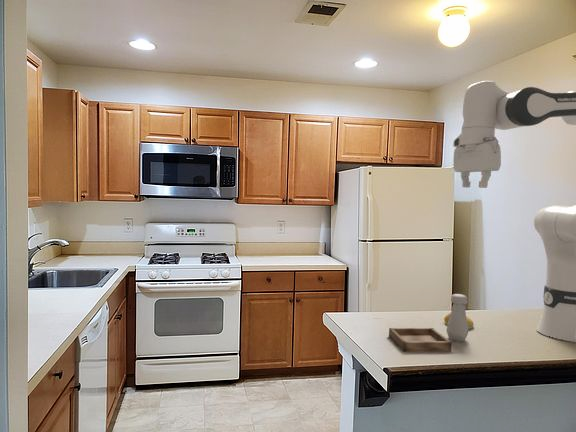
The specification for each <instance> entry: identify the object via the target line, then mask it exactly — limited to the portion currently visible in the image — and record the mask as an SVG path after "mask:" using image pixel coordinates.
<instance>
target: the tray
mask: <svg viewBox="0 0 576 432" xmlns="http://www.w3.org/2000/svg"><path fill="white" fill-rule="evenodd" d="M388 338H390V339H391V340H392V341H393V342H394V343H395V344H396V345H397V346H398V347H399V348H400V350H402V351H403V352H452V343H453V342H452V340H450V339H449V338H447V337H446V336H444V335H443V334H442V333H440V332H439V331H437V330H436V329H435V328H433V327H389V330H388Z"/></svg>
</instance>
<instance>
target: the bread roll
mask: <svg viewBox="0 0 576 432" xmlns="http://www.w3.org/2000/svg"><path fill="white" fill-rule="evenodd" d="M450 314H451V312H450V313H448V314H447V315H446V316H445V317H444V318H443V320H444V323H445V324H446V325H448V322H449V318H450ZM466 320H467V327H468V330H471V329H473V327H474V321H473V320H472V319H471V318H470V317H468V316H467V315H466Z"/></svg>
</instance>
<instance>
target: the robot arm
mask: <svg viewBox="0 0 576 432" xmlns="http://www.w3.org/2000/svg"><path fill="white" fill-rule="evenodd" d="M463 97H464V98H463V105H462V117H463V123H462V126H461V132H460V133H459V135H458V136H457V137H456V138H455V139H454V140H453V144H452V146H453V148H454V149H453V150H454V151H453V164H452V165H453V171H454V172H455V173H460V178H461V182H462V185H461V186H462V188H470V187H471V181H470V177H469V176H470V173H478V172H480V175H481V178H480V181H478V188H479V189H487V188H488V182H489V180H490V178H491V176H492V172H499V170H500V168H501V167H502V166H501V165H502V155H501V153H502V151H501V146H500V144H499V140H498V139H497V137H496V136H495V134H496V133H495V132H496V129H497V130H503V131H504V130H505V131H506V130H512V129H516V128H517V129H518V128H522V127H531V126H536V125H538V124H541V123H542V122H544V121H546V120H547V119H550V118H561V119H562V121H563V122H564V123H565V124H567V125H572V126H576V89H573V90H570V91H567V92H549V91H547V90H544V89H542V88H538V87H534V86H530V87H529V86H528V87H527V86H526V87H524V88H522V89H520V90H517V91H515V92H511V93H509V92H506V91H505V90H503V89H502V88H501V87H499V85H497V83H496V82H495V81H494V80H483V81H479V82H475V83H473V84H471V85H469V86H468V87H467V88H466V91H465V93H464V96H463ZM533 225H534V229H535V230H536V232H537V233H538V234H539V236H540V239H541V240H542V243H543V247H544V251H545V254H546V263H547V264H546V279H545V280H546V282H545V285H544V289H543V296H542V297H543V308H542V311H541V316H540V320H539V322H538V325H537V327H536V332H538V333H539V334H542V335H544V336H547V337H549V336H550V338H552V337H553V339H556V338H557V339H556V340H561V339H562V340H561V341H567V342H572V343H576V204H575V205H561V204H560V205H559V204H558V205H557V204H556V205H551V206H545V207H543V208H541V209H540V210H538V211H537V213H536V214H535V216H534V219H533Z"/></svg>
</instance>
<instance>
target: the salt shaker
mask: <svg viewBox="0 0 576 432" xmlns="http://www.w3.org/2000/svg"><path fill="white" fill-rule="evenodd" d="M450 301H451V303H452V308H451V311H450V313H451V314H450V313H449V314H450V318H449V322H448V325H447V324H446V325H447V326H446V334H447V336H448V340H449V341H451V342H452V341H453V342H459V343H461V342H465V340H466V339H467V337H468V335H469V329H468V327H467V320H466V316H467V314H466V304H468V297H467V296H466V295H465V294H461V293H453V294H452V295H451V296H450Z"/></svg>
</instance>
